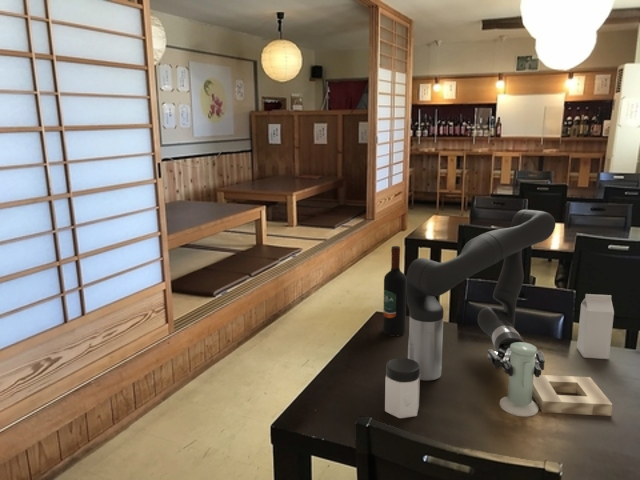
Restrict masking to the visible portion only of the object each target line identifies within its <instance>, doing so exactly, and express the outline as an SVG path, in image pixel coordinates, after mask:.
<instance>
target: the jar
mask: <svg viewBox="0 0 640 480" xmlns="http://www.w3.org/2000/svg"><path fill="white" fill-rule="evenodd" d="M385 367H386V368H385V370H386V372H385V374H386V375H385V381H384V382H385V383H384V385H385V387H384V388H385V389H384V390H385V391H384V411H385V413H388V414H390V415H391V416H394V417H396V418H398V419H406V418H412V417H417V416H418V411H419V408H420V382H421V380H420V365H419V364H418V363H417V362H416V361H414V360H411V359H408V357H407V358H405V357H396V358H391V359H390V360H388V361H387V362H386V366H385Z"/></svg>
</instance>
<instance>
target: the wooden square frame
mask: <svg viewBox="0 0 640 480" xmlns="http://www.w3.org/2000/svg"><path fill="white" fill-rule="evenodd" d="M557 393H568V394H570V393H571V394H577V395H568V394H567V395H565V394H563V395H562V394H557ZM532 398H534V400H535V401H534V402H535V403H536V404H537V405H538V409H540V411H541V413H550V414H567V415H569V414H571V415H590V416H591V415H592V416H607V417H611V416H612V413H613V403H612V401H610V399H609V398H608V397H607V396H606V394H605V393H604V392H603V391H602V390H601V389H600V387H599V386H598V384H597V383H596V382H595V381H594V380H593V379H592V378H591V376H573V375H572V376H570V375H552V374H551V375H548V374H547V375H546V374H541V375H539V377H535V375H534V379H533V391H532Z"/></svg>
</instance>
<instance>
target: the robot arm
mask: <svg viewBox="0 0 640 480" xmlns="http://www.w3.org/2000/svg"><path fill="white" fill-rule="evenodd" d="M555 220H556V219H555V218H554V216H553V215H552V214H551V213H549V212H546V211H543V210H534V209H521V210H519V211H517V212H516V213H515V214H514V216H513V217H512V222H511V224H510V227H506V228H505V227H504V228H499V229H494V230H490V231H487V232H483V233H481V234H479V235H478V236H475V237H473V238H471V239H470V240H469V241H467V242H466V243H465V245H464V246H463V248H462V249H461V252H460V253H459V255H457V256H456V257H453V258H452V259H451V258H450V259H449V260H447V261H443V262H438V261H434V260H432V259H429V258H428V259H427V258H424V257H418V258H416V259H414V260H413V261H412V262H411V263H410V265H409V266H408V268H407V272H406V306H407V307H408V310H409V321H408V323H409V324H408V327H409V329H408V331H409V332H408V333H409V334H408V339H407V340H408V342H407V344H408V345H407V346H408V347H407V359H411V360H414V361H416V362H417V363H418V364H419V365H420V381H434V380H437V379H439V378H441V376H442V361H443V359H442V358H443V335H444V314H445V313H444V308H443V306H442V304H441V303H440V302H439V301H438V299H437V298H436V297H440V296H442V295H444V294H445V293H447V292H449V291H451V290H452V289H454V288H455V287H456V286H457V285H459V284H460V283H462V282H464V281H465V280H467V279H468V278H470V277H472V276H475V274H478V273H479V272H481V271H483V270H485V269H487V268H490V267H491V266H493V265H495V264H497V263H499V262H500V261H502V260H503V263H502V267H501V271H500V273H499V277H498V278H497V279H498V280H497V281H496V284H495V288H494V290H493V292H492V293H493V294H492V297H493V299H494V301H495V300H496V301H497V302H498V303H500V304H501V305H502V306H503V311H502V310H500V309H497V308H496V307H491V306H485V307H483V308H481V310H479V312H478V315H477V323H478V327H480V329H481V330H482V331H483V332H484V333H485V334H486V335H487V336H488V337H490V339H491V341H492V345H493V348H494V350H495V351H494V350H493V349H488V350H487V360H488V361H489V362H490V363H491V364H492V366H493V367H494V368H495V369H500V368H502V369H503V370H504V373H505V374H506V375H508V377H509V376H513V367H512V365H511V364H510V356H511V350H510V345H511V344H512V343H515V342H524V343H525V341H524V340H523V338H522V336H521V335H520V334H519V332H518V331H517V330H516V329H515V324H516V323H515V322H516V310H517V309H516V308H517V301H518V298H519V296H520V292H521V290H522V287H523V284H524V279H525V273H524V267H523V265H524V264H523V259H522V252H523V250H524V249H527V248H528V247H531V246H534V245H537V244H540V243H543V242H545V241H546V240H547V239H549V238H550V237H551V236H552V235H553V233H554V232H555V228H556V221H555ZM544 356H545V355H544V352H543V351H542V350H537V352H536V354H535V366H534V375H535V377H539V375H542V371H543V370H545V361H546V359H545V357H544Z"/></svg>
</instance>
